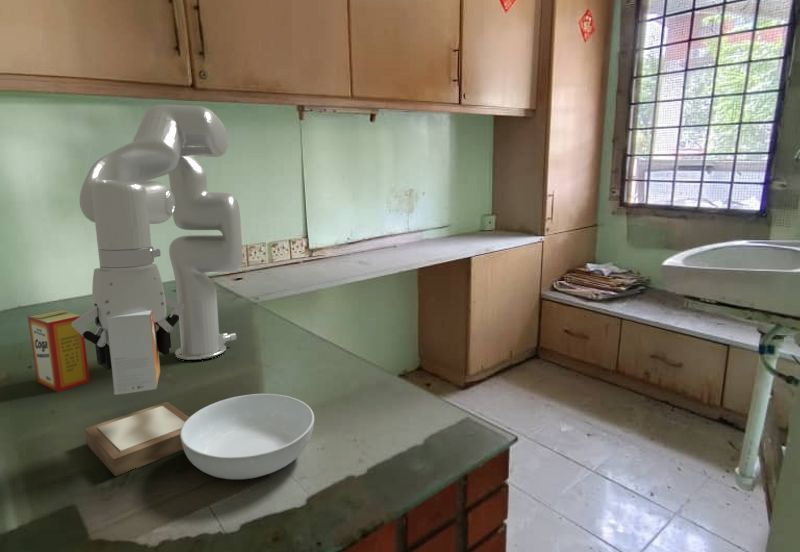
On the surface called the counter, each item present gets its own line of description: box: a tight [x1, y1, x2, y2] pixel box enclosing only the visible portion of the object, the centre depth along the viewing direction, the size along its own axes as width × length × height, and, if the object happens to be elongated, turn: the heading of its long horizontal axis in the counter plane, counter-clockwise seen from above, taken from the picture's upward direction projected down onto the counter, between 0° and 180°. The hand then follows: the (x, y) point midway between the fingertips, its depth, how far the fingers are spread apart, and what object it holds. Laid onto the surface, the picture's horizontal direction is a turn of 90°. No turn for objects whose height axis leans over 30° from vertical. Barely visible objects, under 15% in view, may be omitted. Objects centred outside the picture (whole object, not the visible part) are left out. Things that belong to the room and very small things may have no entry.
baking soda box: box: [27, 309, 91, 393], centre depth 107 cm, size 10×6×16 cm
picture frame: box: [84, 401, 191, 477], centre depth 84 cm, size 14×14×3 cm
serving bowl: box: [180, 393, 315, 480], centre depth 79 cm, size 21×21×7 cm
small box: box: [107, 311, 161, 396], centre depth 80 cm, size 8×6×13 cm
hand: (136, 359), depth 81 cm, fingers closed on small box, 8 cm apart
